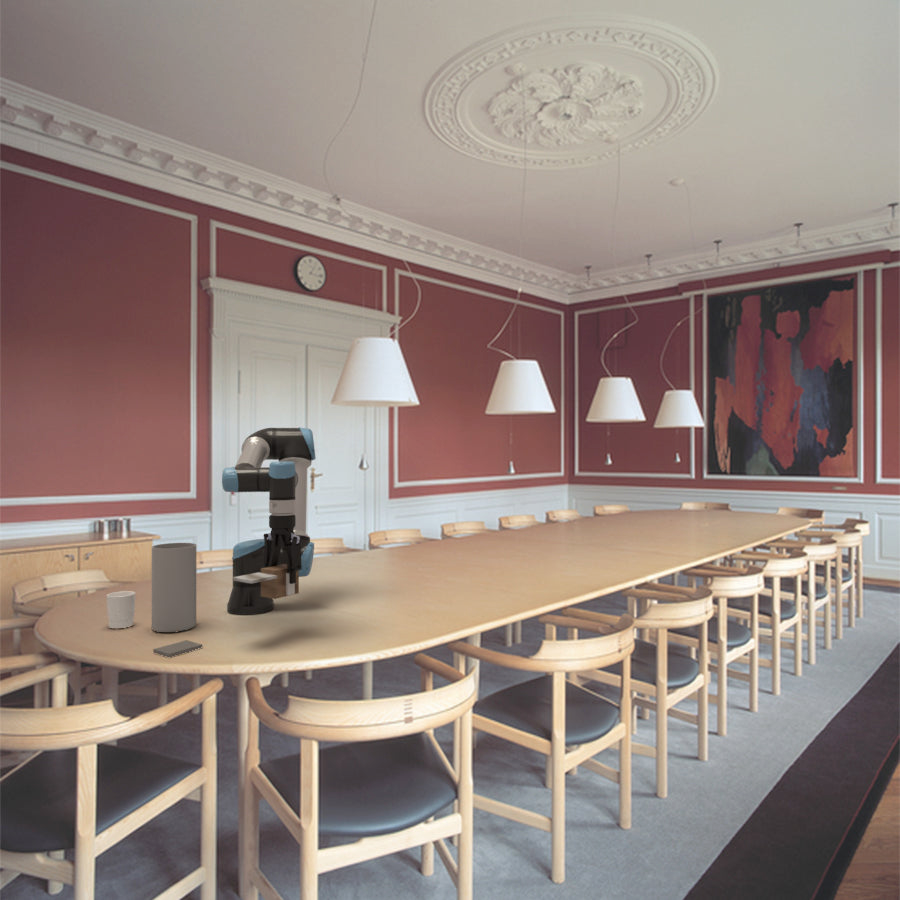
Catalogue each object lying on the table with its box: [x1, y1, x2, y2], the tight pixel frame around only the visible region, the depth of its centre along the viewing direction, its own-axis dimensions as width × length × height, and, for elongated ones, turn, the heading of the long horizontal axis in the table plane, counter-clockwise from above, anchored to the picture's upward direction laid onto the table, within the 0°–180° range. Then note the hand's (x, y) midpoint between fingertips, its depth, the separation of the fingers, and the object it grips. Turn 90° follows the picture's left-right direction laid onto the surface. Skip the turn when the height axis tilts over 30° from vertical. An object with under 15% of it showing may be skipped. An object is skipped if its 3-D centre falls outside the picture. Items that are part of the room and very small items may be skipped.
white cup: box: [106, 590, 136, 629], centre depth 200 cm, size 8×8×10 cm
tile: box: [152, 639, 203, 658], centre depth 176 cm, size 7×2×10 cm
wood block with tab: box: [232, 564, 300, 600], centre depth 187 cm, size 18×8×8 cm, turn 146°
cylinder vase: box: [151, 542, 197, 633], centre depth 198 cm, size 12×12×25 cm
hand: (282, 593), depth 191 cm, fingers closed on wood block with tab, 6 cm apart
